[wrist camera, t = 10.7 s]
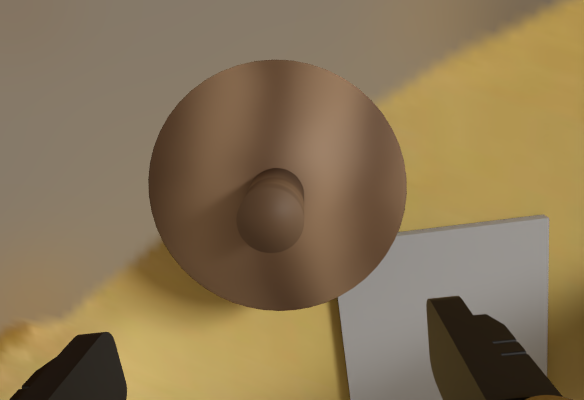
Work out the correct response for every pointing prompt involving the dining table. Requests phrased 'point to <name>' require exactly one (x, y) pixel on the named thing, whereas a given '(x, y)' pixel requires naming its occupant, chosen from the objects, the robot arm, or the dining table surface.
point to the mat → (443, 283)
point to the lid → (277, 185)
